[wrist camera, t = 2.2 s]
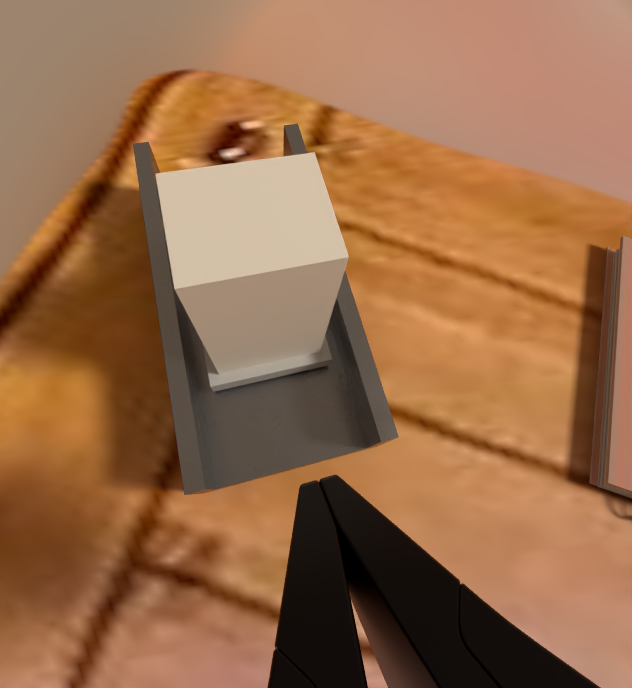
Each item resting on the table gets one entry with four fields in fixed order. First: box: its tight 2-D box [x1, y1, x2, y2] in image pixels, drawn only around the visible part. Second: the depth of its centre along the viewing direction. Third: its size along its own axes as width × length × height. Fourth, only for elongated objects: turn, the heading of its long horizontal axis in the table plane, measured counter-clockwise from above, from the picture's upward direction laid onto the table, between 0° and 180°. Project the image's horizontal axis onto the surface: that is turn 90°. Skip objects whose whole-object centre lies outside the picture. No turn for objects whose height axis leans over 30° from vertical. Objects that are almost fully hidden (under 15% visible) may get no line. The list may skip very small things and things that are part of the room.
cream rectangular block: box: [156, 152, 349, 392], centre depth 16 cm, size 5×6×10 cm
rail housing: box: [133, 124, 398, 495], centre depth 21 cm, size 18×9×4 cm, turn 15°
